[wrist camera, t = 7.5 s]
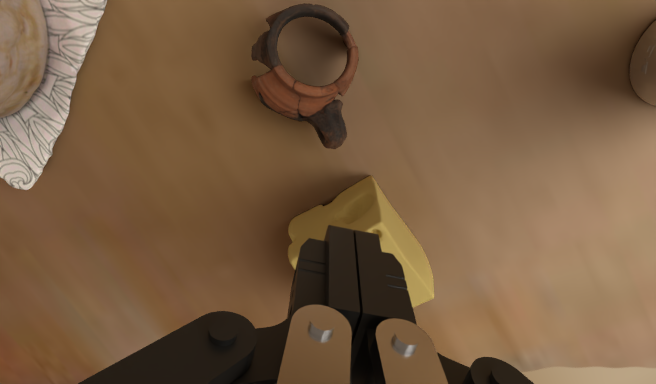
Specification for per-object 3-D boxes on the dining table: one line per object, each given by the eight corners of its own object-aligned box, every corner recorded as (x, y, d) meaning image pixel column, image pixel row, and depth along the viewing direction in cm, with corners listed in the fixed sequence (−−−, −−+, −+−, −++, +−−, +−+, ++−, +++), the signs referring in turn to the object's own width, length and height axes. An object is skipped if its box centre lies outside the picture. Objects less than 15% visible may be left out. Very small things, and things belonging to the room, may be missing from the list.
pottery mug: (227, 59, 39) (230, 24, 31) (312, 14, 41) (335, -30, 33) (295, 171, 40) (315, 165, 32) (373, 122, 42) (410, 106, 35)
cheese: (289, 217, 46) (278, 275, 37) (375, 167, 43) (386, 216, 34) (340, 282, 50) (342, 348, 41) (422, 240, 47) (444, 301, 38)
